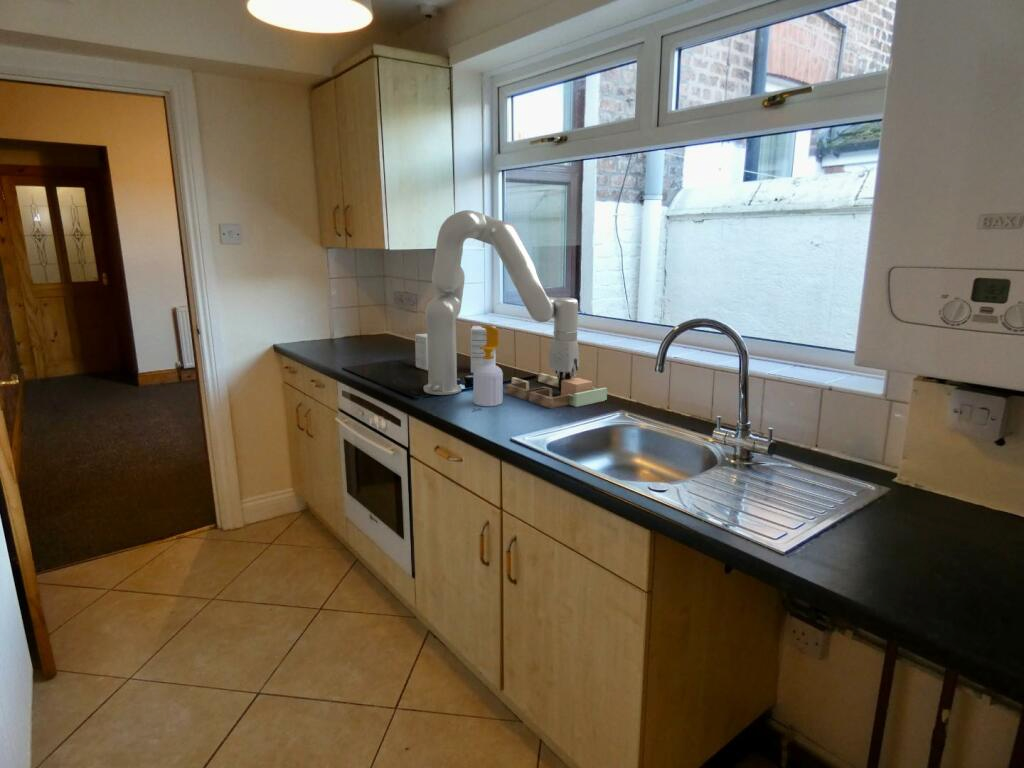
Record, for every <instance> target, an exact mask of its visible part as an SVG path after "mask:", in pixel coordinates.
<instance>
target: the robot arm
mask: <svg viewBox="0 0 1024 768" xmlns="http://www.w3.org/2000/svg"><path fill="white" fill-rule="evenodd" d="M467 239H473V240H477V241H479V242H482V243H484V244H485V243H486V244H487V245H491V246H493V247H494V249H495V251H496V253H497V255H498V256H499V258H500V260H501V262H502V264H503V265H504V267H505V270H506V271H507V273H508V275H509V277H510V279H511V280H510V281H512V283H513V285H514V287H515V289H516V290H517V293H518V295H519V297H520V298H521V301H522V303H523V304H524V307H525V309H526V310H527V312H528V314H529V315H530V317H531V318H532V320H534V321H535V322H536V323H537V322H538V323H547V322H549V320H551V319H553V322H554V323H553V326H554V327H553V339H551V343H550V348H549V355H548V356H549V357H548V358H549V359H548V367H549V369H551V371H553V372H554V373H555V374H556V375H557V376H556V377H557V378H558V379H559V387H557V388H558V389H557V390H558V392H561V381H562V380H566V379H572V378H573V377H576V376H577V375H578V372H577V371H578V370H579V367H580V352H579V351H580V350H579V342H578V323H579V322H578V320H579V319H578V318H579V317H578V316H579V302H578V299H577V298H574V297H551V296H548V295H547V293H546V291H545V290H544V288H543V285H542V283H541V281H540V279H539V277H538V274H537V270H536V266H535V263H534V261H533V260H532V258H531V256H530V255H529V253H528V250H527V249H526V246H525V245H524V243H523V241H522V239H521V237H520V235H519V231H518V229H517V227H516V226H515V225H514V224H513V223H510V222H508V221H503V220H501V219H498V218H495V217H492V216H489V215H486V214H483V213H480V212H478V211H474V210H469V209H467V210H461V211H458V212H455V213H453V214H451V215H449V216H448V217H447V218H446V219H444V221H443V223H442V225H441V226H440V228H439V230H438V234H437V240H436V247H435V254H434V260H433V267H432V273H431V281H432V282H431V283H432V285H433V288H435V290H434V295H433V296H434V297H433V298H432V299H431V300H430V301H429V302H428V303H427V305H426V307H425V308H426V309H425V312H424V313H425V315H424V316H425V324H426V325H425V326H426V333H427V345H428V370H427V372H428V373H427V374H428V375H427V379H428V382H427V384H425V385H424V386H423V392H424V393H425V394H429V395H435V396H445V395H446V396H448V395H455V394H458V393H461V392H462V386H461V385H460V384H458V379H457V378H458V373H457V371H458V368H457V366H458V361H457V360H458V359H457V358H458V357H457V355H458V353H457V351H458V350H457V348H458V347H457V346H458V345H457V328H456V327H457V326H456V319H457V318H458V316H460V313H461V309H462V303H463V302H462V301H463V294H464V287H465V278H466V277H465V271H464V269H463V267H462V266H461V265H462V258H463V257H462V256H463V251H464V249H463V248H464V243H465V241H466V240H467Z"/></svg>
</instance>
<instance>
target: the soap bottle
mask: <svg viewBox="0 0 1024 768" xmlns="http://www.w3.org/2000/svg"><path fill="white" fill-rule="evenodd" d="M480 326H481V327H482V328H485V329H486V332H487V342H486V346H483V347H480V349H483V350H484V352H486V356H483V363H482V364H481V365H480V366H478V367H477V368H476V369H475V370H474V373H472V374H473V380H472V382H473V389H472V390H473V392H472V393H473V403H474V404H475V405H477V406H479V407H485V408H486V407H488V408H489V407H496V406H500V405H501V404H503V401H504V400H503V399H504V398H503V397H504V396H503V395H504V394H503V392H504V387H503V386H504V385H503V382H504V378H503V377H504V372H503V370H502V368H500V367H499V365H496V363H495V364H494V358H493V356H491V352H493V349H498V347H499V336H500V335H499V329H498V328H497V327H496V328H494V327H491V326H490V325H489V326H488V325H480Z"/></svg>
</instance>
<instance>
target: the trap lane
mask: <svg viewBox="0 0 1024 768" xmlns="http://www.w3.org/2000/svg"><path fill="white" fill-rule="evenodd" d="M537 374H538V377H537V378H538V379H537V381H538V382H539V383H542V384H545V385H550V386H552V387H556V388H559V379H558V378H557V376H554V375H550V374H548V373H547V374H546V373H543V372H540V373H539V372H538V373H537ZM594 389H598V388H597V387H593V386H592V390H594ZM505 393H506V394H507V395H510V396H513V397H516V398H519V399H522V400H526V401H527V400H528V401H529V402H531V403H534V404H536V405H540V406H542V407H546V408H548V409H554V408H559V407H563V406H568V405H570V406H573V407H575V406H574V395H571V394H566V395H561V394H560V395H557V396H553V388H550V387H548V386H538V387H534V388H533V387H532V388H530V381H529V380H524V379H521V378H518V377H516V376H515V377H511V383H508V384H507V383H506V384H505Z"/></svg>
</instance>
